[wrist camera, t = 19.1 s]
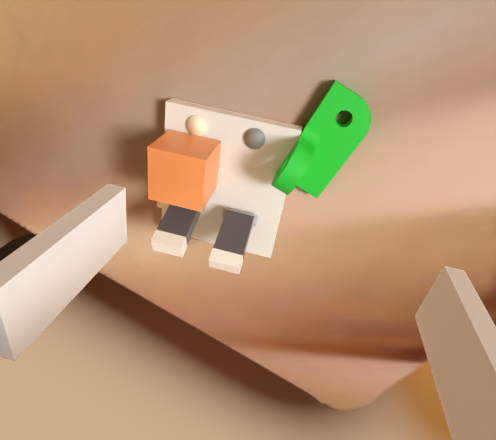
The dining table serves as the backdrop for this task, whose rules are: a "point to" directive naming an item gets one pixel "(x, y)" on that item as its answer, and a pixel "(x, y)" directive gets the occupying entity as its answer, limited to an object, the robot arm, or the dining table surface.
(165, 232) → the lever tagged
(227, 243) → the lever plain
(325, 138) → the mechanical part
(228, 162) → the panel
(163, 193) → the cap
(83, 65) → the dining table surface
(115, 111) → the dining table surface
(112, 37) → the dining table surface
